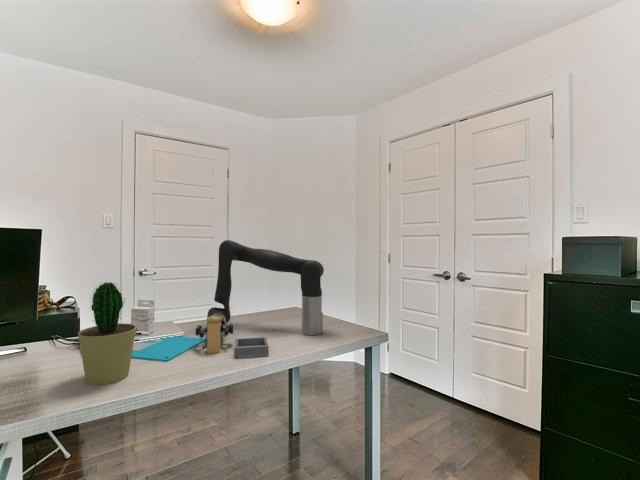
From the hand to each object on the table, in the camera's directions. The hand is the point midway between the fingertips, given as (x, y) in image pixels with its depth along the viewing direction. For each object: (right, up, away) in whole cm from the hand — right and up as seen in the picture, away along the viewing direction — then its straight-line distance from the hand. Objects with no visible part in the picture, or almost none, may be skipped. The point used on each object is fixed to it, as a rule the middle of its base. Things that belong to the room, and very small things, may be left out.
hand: (213, 334), depth 129 cm
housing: (+14, -7, +1) cm, 16 cm away
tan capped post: (0, -7, +1) cm, 7 cm away
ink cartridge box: (-40, -6, +24) cm, 47 cm away
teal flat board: (-24, -7, +5) cm, 25 cm away
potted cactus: (-25, -7, -24) cm, 35 cm away
